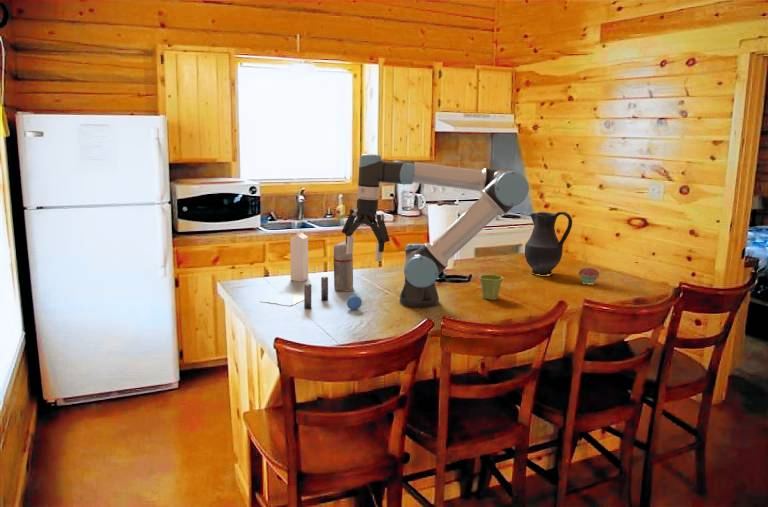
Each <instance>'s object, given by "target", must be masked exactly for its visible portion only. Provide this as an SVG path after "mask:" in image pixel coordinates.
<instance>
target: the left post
mask: <svg viewBox="0 0 768 507" xmlns="http://www.w3.org/2000/svg"><path fill="white" fill-rule="evenodd" d="M303 296H304V301H303V303H304V306H303V309H304V310H311V309H312V284H310V283H305V284H303Z"/></svg>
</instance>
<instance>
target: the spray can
mask: <svg viewBox="0 0 768 507" xmlns="http://www.w3.org/2000/svg"><path fill="white" fill-rule="evenodd" d="M346 250H347V244H346V240H345V241H344V240H342V241H340V242H339V243H337V244H334V246H333V284H334V285H333V288H334V291H337V292H349V291H353V290H354V260H353V259H354V258H353V257H354V256H353V255H354V254H353V253H351V254H346Z"/></svg>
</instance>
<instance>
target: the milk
mask: <svg viewBox="0 0 768 507" xmlns="http://www.w3.org/2000/svg"><path fill="white" fill-rule="evenodd" d="M289 241H290V242H289V245H290V246H289V249H290V250H289V251H290V252H289V254H290V256H289V258H290V260H289V261H290V263H289V264H290V281H291V280H294V281H295V282H302V281H303V282H305V281H307V280H308V279H309V236H308V235H306V234H305V233H303V229H302V228H300V229H298V230H296V233H295V235H294V236H291V237H290V238H289ZM294 281H293V282H294Z"/></svg>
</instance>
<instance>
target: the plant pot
mask: <svg viewBox="0 0 768 507" xmlns="http://www.w3.org/2000/svg"><path fill="white" fill-rule="evenodd" d="M478 278H479V280H480V286H481V296H482V298H483V299H484V300H490V301H493V300H495V301H496V300H497V299H499V295H500V290H501V285H502V282H503V280H504V277H503V276H501V275H497V274H481V275H479V277H478Z"/></svg>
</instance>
